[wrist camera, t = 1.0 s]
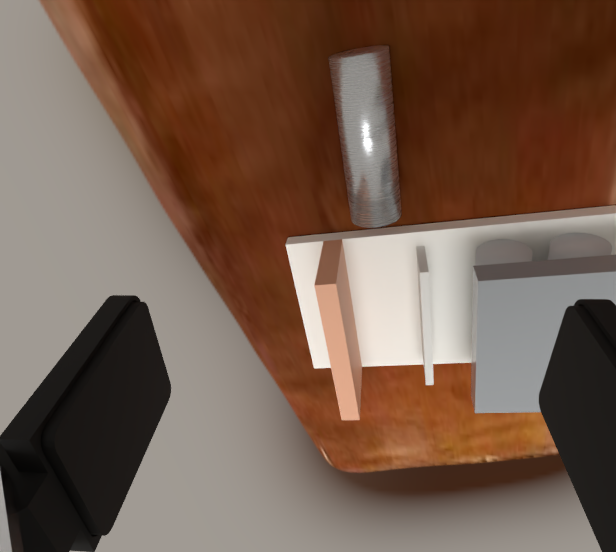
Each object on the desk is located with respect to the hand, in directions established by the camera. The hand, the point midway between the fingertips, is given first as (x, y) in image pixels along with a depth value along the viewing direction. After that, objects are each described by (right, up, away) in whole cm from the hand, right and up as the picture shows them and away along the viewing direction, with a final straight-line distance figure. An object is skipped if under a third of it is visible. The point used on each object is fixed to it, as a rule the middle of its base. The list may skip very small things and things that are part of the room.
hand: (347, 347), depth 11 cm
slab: (+14, -2, +16) cm, 21 cm away
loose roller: (+2, +10, +16) cm, 19 cm away
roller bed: (+12, +1, +20) cm, 23 cm away
